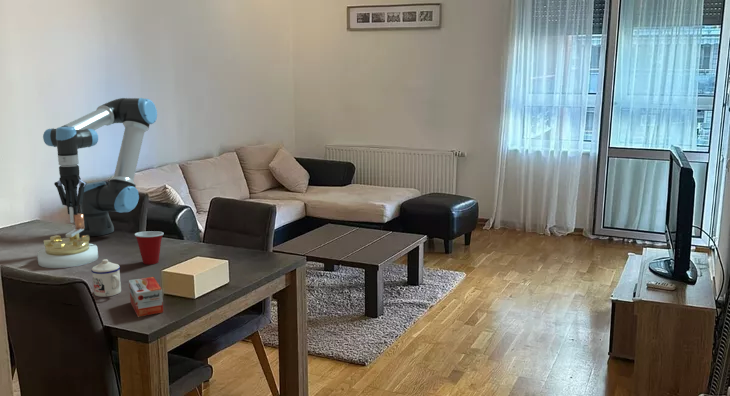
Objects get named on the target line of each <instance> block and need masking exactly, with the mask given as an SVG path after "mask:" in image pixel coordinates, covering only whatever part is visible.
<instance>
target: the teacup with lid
mask: <svg viewBox="0 0 730 396" xmlns="http://www.w3.org/2000/svg"><path fill="white" fill-rule="evenodd" d="M120 269H121V267H120V265H119V264H118V263H114V262H111V261H109V260H108V259H107V258H106V259H102V260H101V262H100V263H98V264H97V265H94V266H93V267H92V268H91V271H90V272H91V275H92V283H93V294H94V295H95V296H96V297H99V298H100V297H102V298H103V297H104V298H105V297H108V298H109V297H112V296H116V295H118V294H120V293H121V292H122V283H121V272H120Z"/></svg>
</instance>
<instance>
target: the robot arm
mask: <svg viewBox="0 0 730 396" xmlns="http://www.w3.org/2000/svg"><path fill="white" fill-rule="evenodd" d="M157 118H158V110H157V107H156V104H155V103H154V102H153V101H152V99H150V98H143V97H139V98H136V97H134V98H133V97H132V98H130V97H128V98H127V97H126V98H125V97H122V98H121V97H120V98H116V99H113V100H111V101H108V102H106V103H104V104H102V105H98V107H97V108H96V110H94V111H92V112H90V113H87V114H85V115H83V116H81V117H79V118H77V119H74V120H73V121H70V122H69V123H66V124H64V125H62V126H59V127H57V128H54V127H53V128H47V129H45V131H44V132H43V134H42V135H43V136H42V138H43V139H42V140H43V142H44V144H45V145H46V146H48V147H53V148H56V150H57V161H58V165H59V167H58V172H59V178H58V179H59V180H58V181H54V183H53V184H54V186H55V188H56V190H57V193H58V196H59V198H60V201H61V204H62V206H65V207H66V209H67V214H68V215H69V221H70V223H71V224H72V223H73V224H75V220H74V214H79V208H80V213H82V214H84V225H85V228H84V230H83V231H81V232H80V233H79V236H81V237H82V236H84V235H88V236H89V237H98V236H103V235H104V236H105V235H109V234H111V233H113V232H114V231H115V227H114V224H113V222H112V220H111V217H110V215H109V212H113V213H115V212H116V213H129V212H131V211H132V210H134V209H135V208H136V207H137V205H138V202H139V199H140V195H139V190H138V189H137V188H136V187H137V185H136V183H135V182H134V180H135V175H136V171H137V166H138V161H139V158H140V153H141V149H142V144H143V139H144V135H145V133H146V132H147V131H148V130H149V129H150V125H154V124H155V123H156V121H157ZM114 124H122V125H123V127H124V131H123V135H122V141H121V146H120V149H119V153H118V157H117V161H116V166H115V170H114V174H113V177H111V178H110V179H109V180H108V184H107V183H106V181H105V180H101V181H94V182H89V183H88V182H86V181H83V180H82V178H81V177H80V166H79V164H80V163H79V154H78V153H79V151H78V150H79V149H85V148H92V147H94V146H97V144H98V142H99V135H98V133H97V131H96V130H97V129H100V128H102V127H104V126H111V125H114ZM78 206H79V207H78Z"/></svg>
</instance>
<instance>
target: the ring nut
mask: <svg viewBox="0 0 730 396" xmlns="http://www.w3.org/2000/svg"><path fill="white" fill-rule="evenodd" d="M74 220H75V222H74V229H72V230H71V231H69V232H67V233H65V237H63V238H62V237H61V235H57V234H56V235H52V236H50V237H49V239H44V240H43V246H44V248H45V251H46V254H49V255H71V254H77V253H81V252H84V251H86V250H88V249H89V244H90V236H88V235H84V236H82V235H81V237H80V235H79V233H80V232H81V231H83V230H84V228H85V225H84V214H82V213H81V212H80V213H79V212H78V214H74Z"/></svg>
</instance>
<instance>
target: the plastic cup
mask: <svg viewBox="0 0 730 396" xmlns="http://www.w3.org/2000/svg"><path fill="white" fill-rule="evenodd" d="M134 236H135V238H136V241H137V244H138V248H139V253H140V256H141V259H142V260H141V261H142V263H143V264H144V265H155V264H158V263H159V261H160V254H161V245H162V239H163V236H164V232H163V231H157V230H156V231H155V230H154V231H152V230H151V231H150V230H148V231H138V232H135V233H134Z"/></svg>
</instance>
